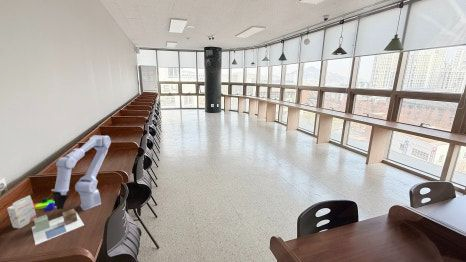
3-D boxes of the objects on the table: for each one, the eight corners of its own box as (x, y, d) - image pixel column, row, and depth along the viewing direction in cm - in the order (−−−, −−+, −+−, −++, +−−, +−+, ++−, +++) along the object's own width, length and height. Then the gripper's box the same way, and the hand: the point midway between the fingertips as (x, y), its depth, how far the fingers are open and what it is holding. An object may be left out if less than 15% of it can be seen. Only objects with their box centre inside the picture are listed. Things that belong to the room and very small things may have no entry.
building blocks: (62, 199, 139) (61, 193, 138) (54, 210, 127) (52, 204, 126) (33, 204, 135) (32, 197, 134) (21, 216, 123) (20, 209, 122)
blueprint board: (76, 211, 125) (76, 211, 125) (84, 225, 113) (84, 225, 113) (31, 228, 112) (31, 227, 112) (35, 245, 100) (35, 245, 100)
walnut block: (75, 216, 120) (73, 208, 119) (77, 220, 117) (75, 212, 115) (64, 220, 116) (62, 212, 115) (66, 225, 113) (64, 216, 112)
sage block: (48, 222, 115) (46, 214, 114) (49, 227, 112) (47, 218, 110) (35, 227, 112) (33, 218, 110) (37, 232, 108) (34, 223, 107)
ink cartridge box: (30, 218, 120) (24, 193, 117) (37, 219, 119) (31, 194, 116) (12, 228, 112) (4, 202, 109) (19, 229, 111) (12, 203, 108)
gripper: (51, 179, 116) (46, 205, 115) (55, 182, 106) (50, 211, 105) (67, 179, 121) (63, 204, 120) (73, 181, 111) (68, 209, 110)
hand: (58, 207), depth 112 cm, fingers open, 7 cm apart
